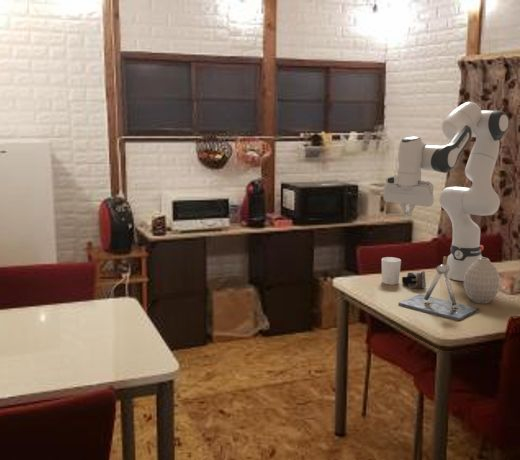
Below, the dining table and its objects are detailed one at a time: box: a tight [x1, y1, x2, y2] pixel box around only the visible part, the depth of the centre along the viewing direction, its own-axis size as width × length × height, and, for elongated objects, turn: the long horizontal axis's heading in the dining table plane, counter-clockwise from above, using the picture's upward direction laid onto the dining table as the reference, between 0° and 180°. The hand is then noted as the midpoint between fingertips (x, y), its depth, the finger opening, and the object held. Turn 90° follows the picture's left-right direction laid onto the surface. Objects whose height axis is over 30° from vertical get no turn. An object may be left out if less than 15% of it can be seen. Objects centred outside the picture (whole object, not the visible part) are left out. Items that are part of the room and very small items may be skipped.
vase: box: [463, 256, 501, 304], centre depth 227 cm, size 13×13×17 cm
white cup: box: [381, 256, 402, 286], centre depth 252 cm, size 8×8×10 cm
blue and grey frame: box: [398, 256, 480, 322], centre depth 219 cm, size 15×24×19 cm, turn 45°
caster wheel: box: [401, 271, 427, 289], centre depth 248 cm, size 7×11×10 cm
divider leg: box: [424, 264, 447, 300], centre depth 219 cm, size 2×3×15 cm, turn 45°
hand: (407, 215), depth 232 cm, fingers closed
